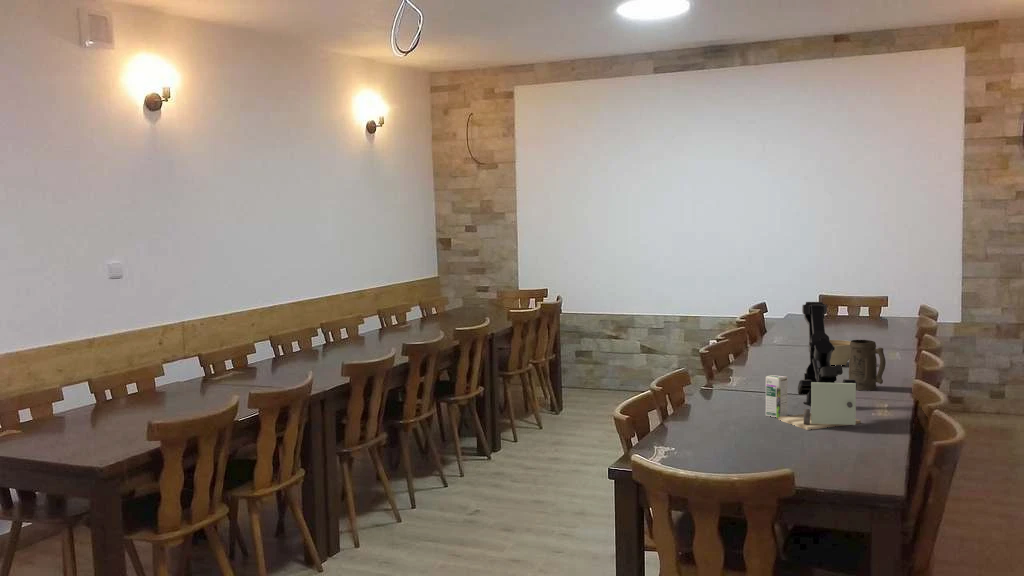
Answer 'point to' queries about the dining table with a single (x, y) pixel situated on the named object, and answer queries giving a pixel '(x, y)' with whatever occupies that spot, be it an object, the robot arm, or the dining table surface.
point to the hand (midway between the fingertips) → (831, 408)
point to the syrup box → (776, 396)
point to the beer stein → (865, 364)
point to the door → (833, 403)
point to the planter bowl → (840, 352)
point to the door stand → (807, 421)
